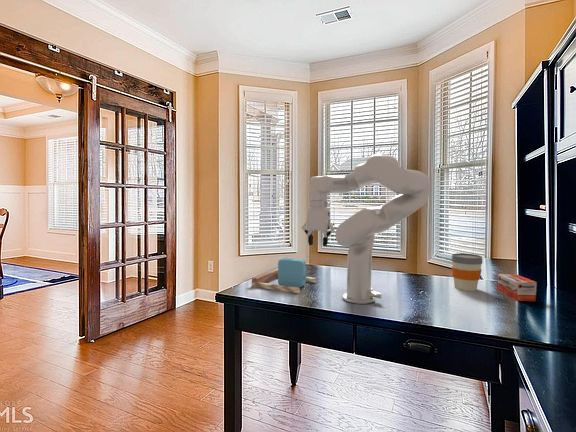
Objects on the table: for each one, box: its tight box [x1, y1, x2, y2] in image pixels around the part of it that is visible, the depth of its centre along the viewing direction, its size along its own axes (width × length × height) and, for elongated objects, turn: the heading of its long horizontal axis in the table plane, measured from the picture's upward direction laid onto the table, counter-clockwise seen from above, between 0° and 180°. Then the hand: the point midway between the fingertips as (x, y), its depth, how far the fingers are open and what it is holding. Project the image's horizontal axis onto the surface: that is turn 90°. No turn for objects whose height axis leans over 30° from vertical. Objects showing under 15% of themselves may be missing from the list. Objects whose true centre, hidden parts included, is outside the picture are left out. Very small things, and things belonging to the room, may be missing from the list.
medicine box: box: [496, 273, 538, 302], centre depth 151 cm, size 15×8×8 cm, turn 177°
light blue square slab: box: [277, 257, 307, 288], centre depth 164 cm, size 12×4×12 cm, turn 71°
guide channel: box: [251, 268, 317, 294], centre depth 166 cm, size 23×21×4 cm
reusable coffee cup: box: [451, 252, 483, 292], centre depth 162 cm, size 13×13×15 cm
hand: (317, 245), depth 158 cm, fingers open, 5 cm apart
